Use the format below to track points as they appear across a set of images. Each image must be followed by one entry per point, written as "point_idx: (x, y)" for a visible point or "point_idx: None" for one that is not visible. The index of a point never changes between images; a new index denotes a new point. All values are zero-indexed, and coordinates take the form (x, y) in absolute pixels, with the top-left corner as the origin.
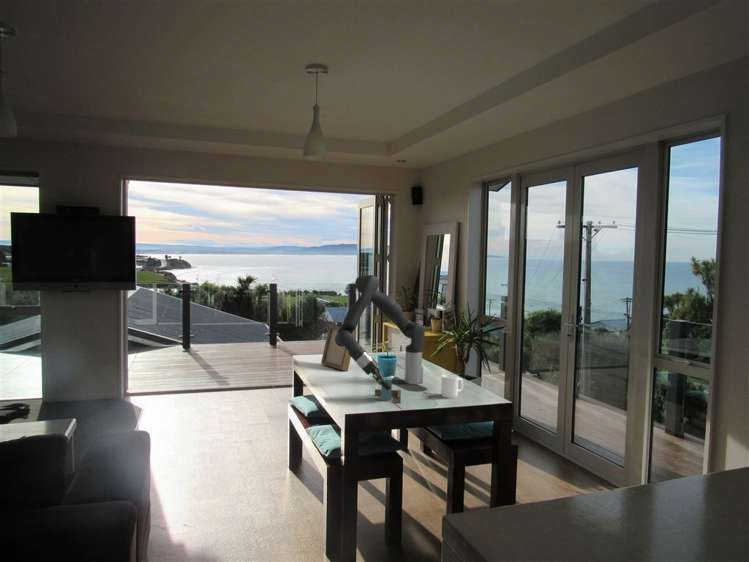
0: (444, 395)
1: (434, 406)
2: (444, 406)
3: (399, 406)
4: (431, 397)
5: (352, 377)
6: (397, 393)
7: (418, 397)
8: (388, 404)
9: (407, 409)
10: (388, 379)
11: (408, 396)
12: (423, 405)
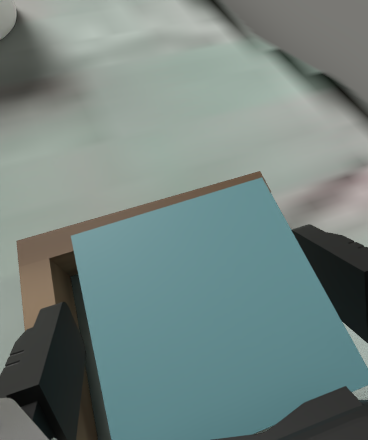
0: (3, 23)
1: (208, 37)
2: (184, 8)
3: (330, 182)
4: (25, 82)
5: None
6: (60, 271)
7: (47, 140)
8: None
9: (357, 124)
10: (263, 241)
11: (39, 203)
12: (220, 78)
